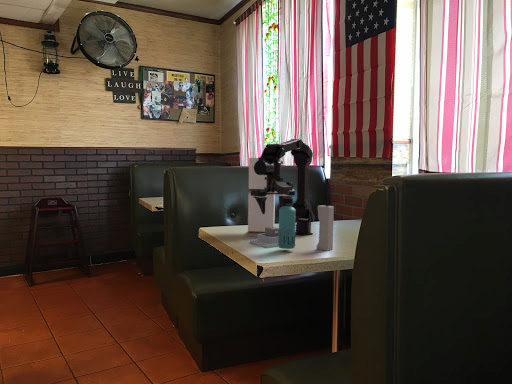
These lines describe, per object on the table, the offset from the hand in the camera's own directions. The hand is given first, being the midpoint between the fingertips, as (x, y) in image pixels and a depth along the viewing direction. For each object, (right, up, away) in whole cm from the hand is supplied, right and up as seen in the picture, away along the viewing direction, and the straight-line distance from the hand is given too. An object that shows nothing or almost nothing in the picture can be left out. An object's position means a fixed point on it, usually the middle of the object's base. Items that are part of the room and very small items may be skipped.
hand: (272, 213), depth 159 cm
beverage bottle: (+5, -14, -13) cm, 19 cm away
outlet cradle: (0, -12, +1) cm, 12 cm away
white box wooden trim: (-4, -11, +22) cm, 25 cm away
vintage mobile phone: (+19, -14, -9) cm, 25 cm away
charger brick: (0, -11, +1) cm, 11 cm away
